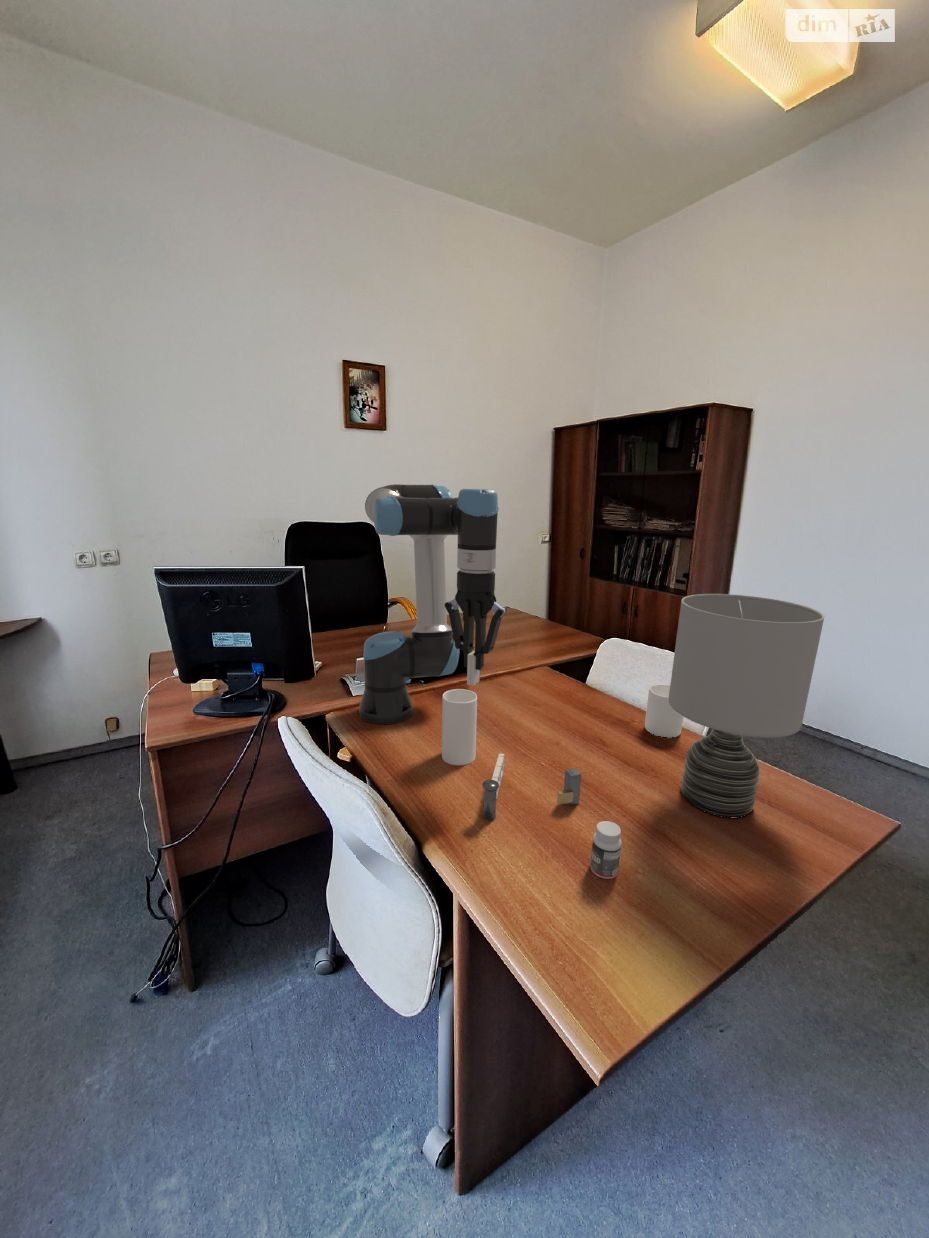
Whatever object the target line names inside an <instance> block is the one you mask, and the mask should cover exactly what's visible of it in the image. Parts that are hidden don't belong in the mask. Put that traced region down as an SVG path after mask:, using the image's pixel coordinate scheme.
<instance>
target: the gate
mask: <svg viewBox="0 0 929 1238" xmlns="http://www.w3.org/2000/svg"><path fill="white" fill-rule="evenodd" d="M504 769H505V753H499V754H498V756H497V759H496V763H495V766H494V771H493V774H492V777H491V780H495V781H497V782H498V783H499V788H498V789H497V796H496V800H497V799H498V796H499V791H500V788H501V785H502V779H503V776H504Z"/></svg>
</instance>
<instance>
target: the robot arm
mask: <svg viewBox="0 0 929 1238" xmlns="http://www.w3.org/2000/svg"><path fill="white" fill-rule="evenodd" d="M498 499H499V498H498V493H497V491H496V490H494V489H488V488H487V489H486V488H484V489H483V488H481V489H479V488H462V489H460V490H459V491H458V497H453V494H452V493H451V491H450V489H449V488H448V487H447V486H443V485H437V484H397V483H396V484H388V485H384V486H381V487H378V488H376V489H373V490H372V491H371V492H370V493H369V494H368V495H367V497H366V500H365V503H364V510H365V513H366V516H367V517H368V518H369V520H370V521H371V522H373V523H374V530H375V532H376V534H378V535H379V536H380V535H381V536H390V537H395V536H409V537H410V538H411V539H412V540H413V551H414V552H413V553H414V554H413V555H414V576H415V579H414V580H415V581H414V582H415V585H414V586H415V604H416V605H415V608H416V611H415V612H416V624H415V626H414V627H413V628H412V629H411V636H409V637H407V635H406V634H405V632H402V631H395V630H390V631H384V632H383V631H382V632H378V633H376V634H373V635H371V636H370V637H368V638H367V639H366V640H365V641H364V644H363V655H362V658H363V665H364V667H363V669H364V670H363V671H364V672H363V673H364V691H363V694H362V697H361V699H360V703H359V709H358V710H359V711H358V712H359V713H358V715H359V717H360V719H361V720H363V721H365V722H367V723H371V724H376V725H389V724H390V725H391V724H396V723H401V722H402V721H406V720H407V719H409V717H411V716H412V714H413V703H412V700H411V697H410V694H409V692H408V689H407V679H415V678H424V677H425V678H427V677H441V676H447V675H451V674H453V673H454V672H455V671H456V669H457V667H458V664H459V658H460V650H461V652H463V666H464V668H466V673H467V675H466V685H468V686H471V687H472V686H473V687H475V686H476V685H477V684H479V682H480V678H481V677H480V674H481V673H480V672H481V670H482V669H484V665H485V664H484V662H485V655H486V654H487V655H488V654H489V653H491V652H492V651H493V650H494V648H495V644H496V640H497V637H498V633H499V630H500V626H501V621H502V619H503V617H504V616H505V614H506V613H507V612H508V608H507V607H505V606H501V604H499V603H498V602H497V598H496V595H495V590H496V573H495V571H493V570H495V569H497V568H496V565H497V564H496V561H497V560H496V559H497V539H498V538H497V536H498V535H497V534H498V515H499V514H498V513H499V502H498V501H499V500H498ZM448 536H457V552H456V553H457V554H456V555H457V557H456V558H457V560H456V561H457V563H456V567H457V569H459V570H458V571H457V572H456V593H455V596H454V598H453V599H452V600H448V601H447V592H446V591H447V589H446V587H447V586H446V562H445V561H446V560H445V539H446V538H447V537H448ZM459 609H460V610H461V611H460V610H459ZM491 610H492V611H491ZM490 611H491V612H492V617H491V620H490V623H489V627H488V631H487V627H486V626H487V620H488V614H489V613H490ZM460 612H462V617H461V613H460ZM447 613H448V618H449V621H450V625H449V623H447V622H448V620H447ZM462 621H463V623H462ZM486 631H487V633H486ZM474 634H475V635H474ZM486 634H487V635H486ZM474 638H475V639H474Z"/></svg>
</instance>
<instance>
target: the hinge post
mask: <svg viewBox="0 0 929 1238" xmlns="http://www.w3.org/2000/svg"><path fill="white" fill-rule="evenodd" d="M498 788H499V783H498V782H497V781H495V780H492V779H486V780H484V781H483V782H482V789H484V790H483V791H484V792H483V793H484V795H483V798H484V799H483V819H484V821H487V822H488V821H489V822H491V821H495V820H496V818H497V817H496V816H497V815H496V814H497V799H496V796H497V789H498ZM499 789H500V788H499Z"/></svg>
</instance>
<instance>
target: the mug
mask: <svg viewBox="0 0 929 1238" xmlns="http://www.w3.org/2000/svg"><path fill="white" fill-rule="evenodd" d="M669 691H670V685H669V684H653V685H651V686H649V687H648V693H647V694H648V695H647V704H646V711H645V719H644V728H645V730H646V731H647V733H649V732H650V733H649V734H651V735H653V734H654V735H653V736H655V737H658V736H661V737H660V738H662V737H667V738H666V739H673V738H672V737H674V738H677V737H679V736H680V735H681V733H682V729H683V723H684V718H685V717H684V716H682V715H680V714H679V713H678V712H676V711H675V710H674V709H673V708H672V707H671V705H670V704H669Z"/></svg>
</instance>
